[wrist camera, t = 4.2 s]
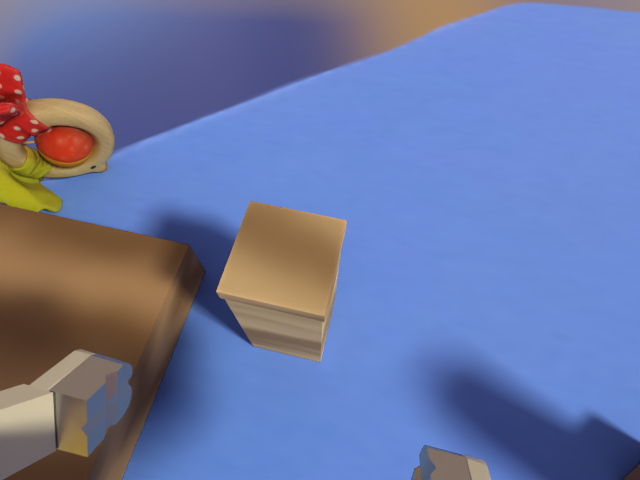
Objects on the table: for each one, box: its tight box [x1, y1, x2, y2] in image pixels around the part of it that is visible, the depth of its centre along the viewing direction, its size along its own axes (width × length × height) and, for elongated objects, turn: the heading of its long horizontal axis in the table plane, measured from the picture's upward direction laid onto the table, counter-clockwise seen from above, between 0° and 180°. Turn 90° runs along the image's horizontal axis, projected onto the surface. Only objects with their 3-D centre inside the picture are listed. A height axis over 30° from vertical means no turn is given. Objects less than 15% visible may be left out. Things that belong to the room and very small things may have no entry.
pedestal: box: [0, 204, 205, 480], centre depth 23 cm, size 14×14×4 cm
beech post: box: [216, 201, 347, 362], centre depth 22 cm, size 5×5×10 cm
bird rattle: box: [0, 64, 115, 212], centre depth 27 cm, size 6×11×9 cm
